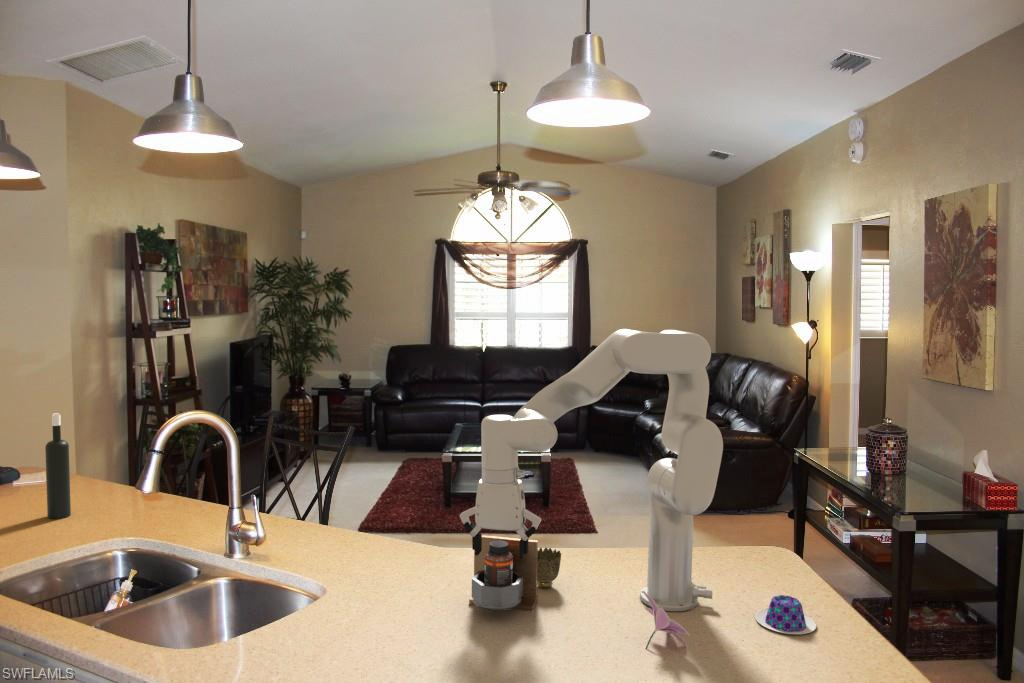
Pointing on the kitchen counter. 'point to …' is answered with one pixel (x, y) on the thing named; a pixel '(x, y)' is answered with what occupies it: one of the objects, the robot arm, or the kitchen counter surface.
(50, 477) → the wine bottle
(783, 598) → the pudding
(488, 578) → the supplement bottle
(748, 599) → the kitchen counter surface
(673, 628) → the lily
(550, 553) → the cup
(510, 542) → the cup bracket
